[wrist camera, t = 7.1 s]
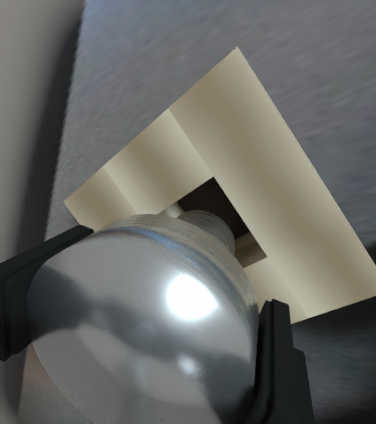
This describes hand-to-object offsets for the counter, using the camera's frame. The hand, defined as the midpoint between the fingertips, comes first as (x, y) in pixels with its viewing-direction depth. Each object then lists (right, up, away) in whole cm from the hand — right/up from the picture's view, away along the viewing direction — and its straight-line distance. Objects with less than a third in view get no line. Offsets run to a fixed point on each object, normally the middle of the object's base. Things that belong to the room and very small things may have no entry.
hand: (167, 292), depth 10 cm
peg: (+1, +1, +4) cm, 5 cm away
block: (+3, +3, +10) cm, 11 cm away
